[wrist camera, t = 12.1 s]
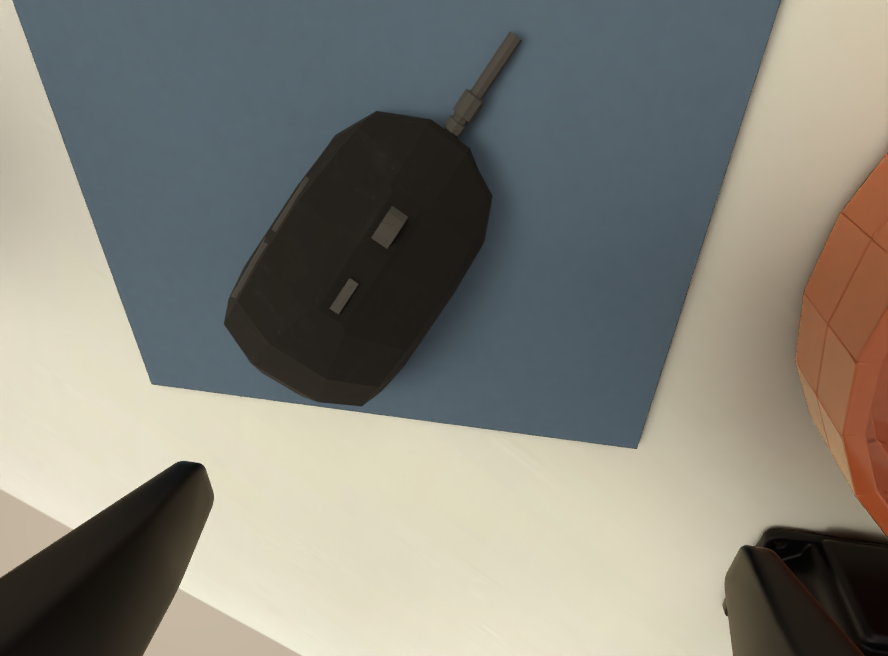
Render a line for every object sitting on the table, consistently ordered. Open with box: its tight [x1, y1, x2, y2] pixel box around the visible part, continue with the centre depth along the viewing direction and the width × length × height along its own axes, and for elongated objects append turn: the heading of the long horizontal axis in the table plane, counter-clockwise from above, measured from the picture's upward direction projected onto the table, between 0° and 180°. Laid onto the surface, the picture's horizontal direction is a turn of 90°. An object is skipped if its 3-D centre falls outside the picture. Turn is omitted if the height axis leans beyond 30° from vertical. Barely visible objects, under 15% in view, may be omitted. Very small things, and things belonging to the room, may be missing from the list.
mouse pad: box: [13, 0, 781, 449], centre depth 18 cm, size 18×21×1 cm
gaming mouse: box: [224, 31, 522, 406], centre depth 17 cm, size 6×15×4 cm, turn 146°
